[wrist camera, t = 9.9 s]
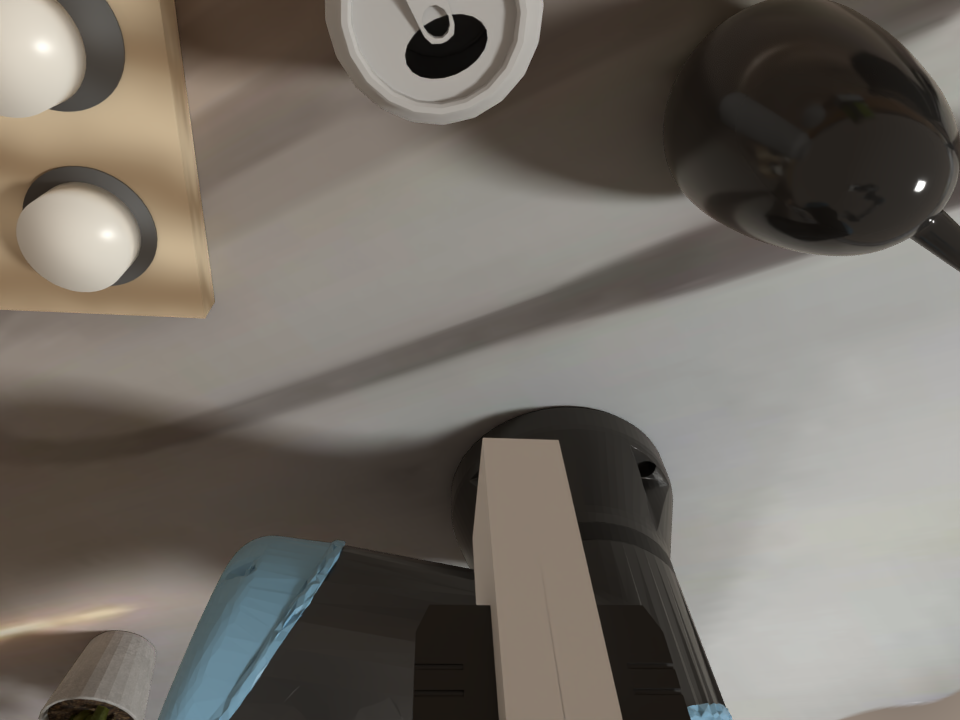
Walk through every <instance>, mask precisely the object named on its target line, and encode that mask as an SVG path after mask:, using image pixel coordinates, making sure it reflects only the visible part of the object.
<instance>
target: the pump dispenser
mask: <svg viewBox="0 0 960 720" xmlns="http://www.w3.org/2000/svg"><path fill="white" fill-rule="evenodd" d="M663 143H664V151H665V156H666V160H667V164H668V167H669V169H670V172H671V174H672V176H673V178H674V180H675V182H676V183H677V185H678V186H679V188H680V189H681V191H682V192H683V193H684V194H685V195H686V197H687V198H688V199H689V200H690V201H691V202H692V203H693V204H694V205H695V206H697V207H698V208H699V209H700V210H701V211H703V212H704V213H705V214H707V215H708V216H710V217H711V218H713V219H715V220H716V221H718V222H720V223H722V224H723V225H725V226H727V227H729V228H731V229H733V230H735V231H737V232H739V233H741V234H743V235H745V236H748V237H750V238H753V239H755V240H758V241H761V242H764V243H767V244H771V245H774V246H777V247H781V248H785V249H789V250H793V251H797V252H802V253H808V254H815V255H825V256H854V255H862V254H868V253H873V252H877V251H880V250H884V249H886V248H889V247H892V246H894V245H896V244H899V243H901V242H903V241H905V240H907V239H908V238H911V239H912V240H914V241H915V242H917V243H918V244H920V245H921V246H923V247H924V248H925V249H927V250H928V251H930V252H931V253H933V254H934V255H936V256H937V257H939V258H940V259H942V260H943V261H944V262H946V263H947V264H949V265H950V266H952V267H953V268H955V269H956V270H958V271H959V272H960V226H959V225H958V224H957V223H956V222H955V221H954V220H953V219H952V218H951V217H950V216H949V215H948V214H947V213H946V212H945V211H944V210H943V208H944V206H945V205H946V203H947V201H948V200H949V198H950V196H951V194H952V193H953V190H954V188H955V186H956V183H957V180H958V177H959V173H960V137H959V132H958V128H957V124H956V121H955V118H954V115H953V113H952V111H951V108H950V106H949V104H948V102H947V100H946V98H945V96H944V94H943V93H942V91H941V89H940V88H939V87H938V85H937V84H936V82H935V81H934V80H933V78H932V77H931V76H930V74H929V73H928V72H927V71H926V70H925V68H924V67H923V66H922V65H921V64H920V63H919V61H918V60H917V59H916V58H915V57H914V56H913V55H912V54H911V53H910V52H909V51H908V50H907V49H906V48H905V47H904V46H903V45H902V44H901V43H900V42H899V41H898V40H897V39H896V38H895V37H893V36H892V35H891V34H890V33H888V32H887V31H886V30H884V29H883V28H882V27H880V26H879V25H878V24H876V23H875V22H873V21H871V20H870V19H868V18H867V17H865V16H863V15H862V14H860V13H859V12H857V11H855V10H853V9H851V8H849V7H847V6H844V5H842V4H839V3H836V2H833V1H830V0H766V1H763V2H760V3H757V4H755V5H752V6H750V7H748V8H746V9H744V10H742V11H740V12H738V13H736V14H735V15H733V16H731V17H730V18H728V19H727V20H725V21H724V22H723V23H721V24H720V25H719V26H718V27H716V28H715V29H714V30H713V31H712V32H711V33H710V34H708V35H707V36H706V37H705V38H704V39H703V41H702V42H701V43H700V44H699V45H698V46H697V47H696V49H695V50H694V51H693V52H692V54H691V55H690V56H689V58H688V59H687V61H686V62H685V64H684V65H683V67H682V69H681V71H680V72H679V74H678V76H677V78H676V80H675V83H674V85H673V87H672V90H671V93H670V96H669V99H668V102H667V106H666V110H665V116H664V124H663Z"/></svg>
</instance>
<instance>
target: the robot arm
mask: <svg viewBox="0 0 960 720" xmlns="http://www.w3.org/2000/svg"><path fill="white" fill-rule="evenodd" d="M672 510H673V495H672V488H671V483H670V480H669V477H668V474H667V472H666V469H665V467H664V464H663V462H662V459H661V457H660V455H659V453H658V451H657V449H656V447H655V446H654V444H653V443H652V442H651V440H650V439H649V438H648V437H647V436H646V435H645V434H644V433H643V432H642V431H640V430H639V429H638V428H637V427H635V426H634V425H632V424H631V423H629V422H627V421H625V420H623V419H621V418H619V417H617V416H614V415H612V414H609V413H606V412H602V411H598V410H593V409H586V408H574V407H565V408H552V409H545V410H540V411H535V412H531V413H528V414H525V415H522V416H519V417H516V418H514V419H512V420H509V421H507V422H505V423H503V424H501V425H500V426H498V427H496V428H495V429H493V430H492V431H490V432H489V433H487V434H486V435H485V436H483V437H482V438H481V439H480V440H479V441H478V442H477V443H476V444H475V445H474V446H473V447H472V448H471V449H470V450H469V451H468V453H467V454H466V455H465V457H464V458H463V460H462V461H461V463H460V465H459V467H458V469H457V471H456V473H455V476H454V479H453V484H452V490H451V513H452V525H453V530H454V534H455V537H456V540H457V542H458V545H459V547H460V549H461V551H462V553H463V555H464V557H465V559H466V561H467V563H468V565H469V568H470V569H469V568H463V567H458V566H453V565H447V564H442V563H437V562H431V561H426V560H420V559H415V558H410V557H404V556H399V555H394V554H388V553H383V552H378V551H372V550H367V549H361V548H356V547H351V546H345V541H340V540H335V541H333V542H332V543H328V542H320V541H313V540H305V539H297V538H290V537H282V536H264V537H260V538H257V539H255V540H252V541H251V542H249V543H247V544H246V545H244V546H243V547H242V548H241V549H240V550H239V551H238V552H237V553H236V554H235V555H234V556H233V558H232V559H231V560H230V562H229V563H228V565H227V567H226V568H225V570H224V572H223V574H222V575H221V577H220V579H219V581H218V583H217V585H216V587H215V589H214V591H213V593H212V595H211V598H210V600H209V602H208V604H207V606H206V608H205V610H204V612H203V614H202V617H201V619H200V621H199V623H198V625H197V628H196V630H195V632H194V634H193V637H192V639H191V641H190V643H189V646H188V648H187V650H186V653H185V655H184V657H183V659H182V662H181V664H180V666H179V669H178V671H177V674H176V676H175V678H174V681H173V683H172V685H171V688H170V690H169V693H168V695H167V698H166V700H165V703H164V705H163V708H162V710H161V713H160V716H159V718H158V720H732V716H731V715H730V713H729V711H728V709H727V708H726V706H725V704H724V701H723V698H722V696H721V693H720V691H719V688H718V685H717V683H716V680H715V677H714V675H713V672H712V669H711V667H710V664H709V662H708V659H707V656H706V654H705V651H704V648H703V646H702V643H701V640H700V638H699V635H698V633H697V630H696V627H695V625H694V622H693V619H692V617H691V614H690V611H689V609H688V606H687V604H686V601H685V598H684V596H683V593H682V590H681V588H680V585H679V582H678V580H677V578H676V575H675V572H674V569H673V566H672V563H671V560H670V553H671V531H672Z"/></svg>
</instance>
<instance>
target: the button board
mask: <svg viewBox="0 0 960 720" xmlns="http://www.w3.org/2000/svg"><path fill="white" fill-rule="evenodd" d="M57 1H58V2H59V3H60V4H61V5H62V6H63V7H64V9H65V10H66V11H67V12H68V14H69V15H70V16H71V18H72V19H73V21H74V23H75V24H76V26H77V28H78V30H79V32H80V35H81V37H82V40H83V43H84V47H85V53H86V71H85V75H84V79H83V81H82V83H81V86H80V87H79V89H78V90H77V91H76V93H75V94H74V95H73V96H72V97H70V98H69V99H68V100H66V101H64V102H62V103H60V104H58V105H56V106H54V107H52V108H50V109H48V110H46V111H44V112H42V113H39V114H37V115H34V116H31V117H24V118H12V117H5V116H0V310H23V311H46V312H69V313H93V314H116V315H139V316H162V317H185V318H206V316H207V314H208V313H209V311H210V309H211V307H212V306H213V304H214V302H215V299H214V292H213V284H212V277H211V270H210V262H209V255H208V247H207V240H206V232H205V225H204V218H203V210H202V203H201V195H200V188H199V180H198V173H197V166H196V158H195V151H194V143H193V136H192V128H191V121H190V114H189V106H188V99H187V91H186V84H185V76H184V69H183V61H182V54H181V47H180V39H179V32H178V24H177V17H176V9H175V2H174V0H57ZM68 182H83V183H89V184H93V185H96V186H99V187H101V188H103V189H105V190H107V191H109V192H111V193H112V194H114V195H115V196H116V197H118V198H119V199H120V200H121V201H122V202H123V203H124V204H125V205H126V206H127V207H128V208H129V209H130V211H131V212H132V214H133V215H134V217H135V219H136V221H137V223H138V226H139V229H140V233H141V248H140V252H139V254H138V256H137V258H136V260H135V261H134V262H133V263H132V265H131V266H130V267H129V268H128V269H127V270H126V271H125V272H124V274H123V275H122V276H121V277H120V278H119V279H118V280H117V281H116V282H115V283H114V284H113V285H111V286H109V287H108V288H105V289H103V290H99V291H95V292H77V291H72V290H68V289H65V288H62V287H60V286H57V285H55V284H53V283H51V282H49V281H48V280H46V279H45V278H43V277H42V276H41V275H40V274H38V273H37V272H36V271H35V270H34V269H33V268H32V267H31V266H30V264H29V263H28V262H27V260H26V259H25V257H24V256H23V254H22V252H21V250H20V247H19V245H18V241H17V236H16V227H17V221H18V218H19V216H20V214H21V212H22V211H23V210H24V208H25V207H26V206H27V205H28V204H30V203H31V202H33V201H34V200H36V199H37V198H38V197H40V196H41V195H43V194H44V193H46V192H47V191H48V190H50V189H51V188H53V187H55V186H57V185H59V184H63V183H68Z"/></svg>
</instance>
